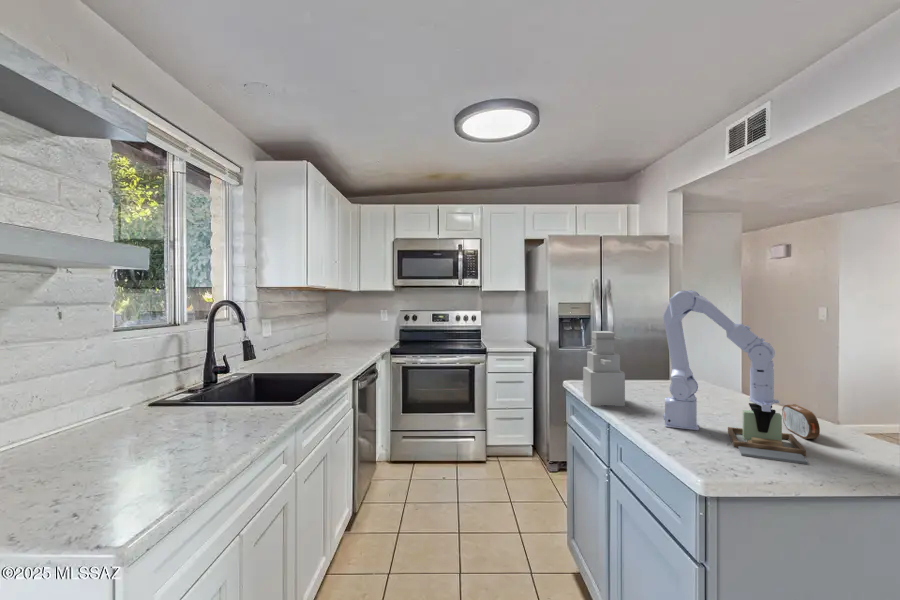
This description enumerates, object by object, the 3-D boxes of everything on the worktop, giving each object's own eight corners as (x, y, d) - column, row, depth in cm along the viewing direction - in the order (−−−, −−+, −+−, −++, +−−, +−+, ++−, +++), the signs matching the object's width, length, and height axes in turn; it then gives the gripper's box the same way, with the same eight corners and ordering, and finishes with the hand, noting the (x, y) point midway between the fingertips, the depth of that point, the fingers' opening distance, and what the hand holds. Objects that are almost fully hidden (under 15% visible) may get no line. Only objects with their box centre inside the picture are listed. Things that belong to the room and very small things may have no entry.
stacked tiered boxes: (610, 394, 186) (610, 329, 186) (629, 409, 163) (629, 334, 162) (580, 394, 187) (579, 329, 187) (593, 409, 164) (593, 334, 163)
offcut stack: (748, 446, 124) (748, 439, 124) (747, 443, 126) (747, 436, 126) (783, 450, 121) (783, 443, 120) (781, 447, 123) (781, 440, 123)
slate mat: (741, 455, 116) (741, 453, 116) (738, 448, 121) (738, 446, 121) (807, 464, 110) (807, 462, 110) (801, 456, 115) (801, 454, 115)
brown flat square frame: (733, 447, 122) (733, 441, 122) (727, 431, 136) (727, 427, 136) (805, 456, 115) (805, 450, 115) (791, 439, 128) (791, 434, 128)
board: (744, 439, 129) (744, 412, 129) (742, 436, 131) (742, 409, 131) (781, 443, 125) (781, 415, 125) (779, 440, 127) (779, 413, 127)
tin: (821, 443, 125) (821, 414, 125) (808, 442, 125) (808, 413, 125) (791, 427, 139) (791, 401, 139) (780, 427, 140) (780, 400, 140)
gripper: (784, 390, 120) (784, 439, 120) (773, 380, 132) (773, 425, 133) (753, 388, 123) (753, 436, 123) (745, 378, 136) (745, 422, 136)
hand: (761, 430), depth 128 cm, fingers closed on board, 3 cm apart
